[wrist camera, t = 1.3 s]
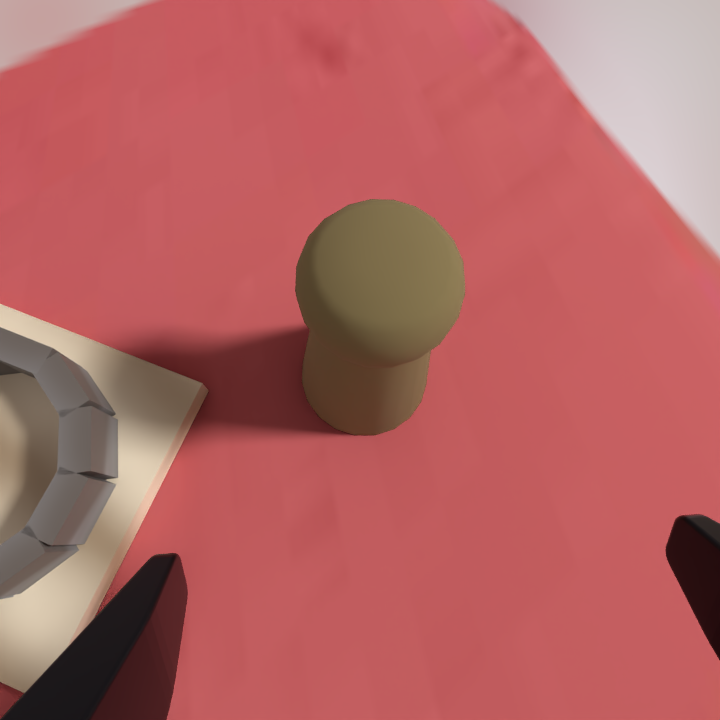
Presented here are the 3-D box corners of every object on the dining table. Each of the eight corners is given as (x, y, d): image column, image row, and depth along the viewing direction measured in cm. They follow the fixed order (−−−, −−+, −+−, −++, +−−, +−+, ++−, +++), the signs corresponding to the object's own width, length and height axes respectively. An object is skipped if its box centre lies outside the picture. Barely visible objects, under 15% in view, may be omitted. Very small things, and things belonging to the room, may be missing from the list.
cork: (281, 346, 25) (240, 210, 14) (390, 297, 26) (426, 138, 15) (335, 458, 23) (335, 396, 13) (449, 401, 24) (534, 300, 14)
